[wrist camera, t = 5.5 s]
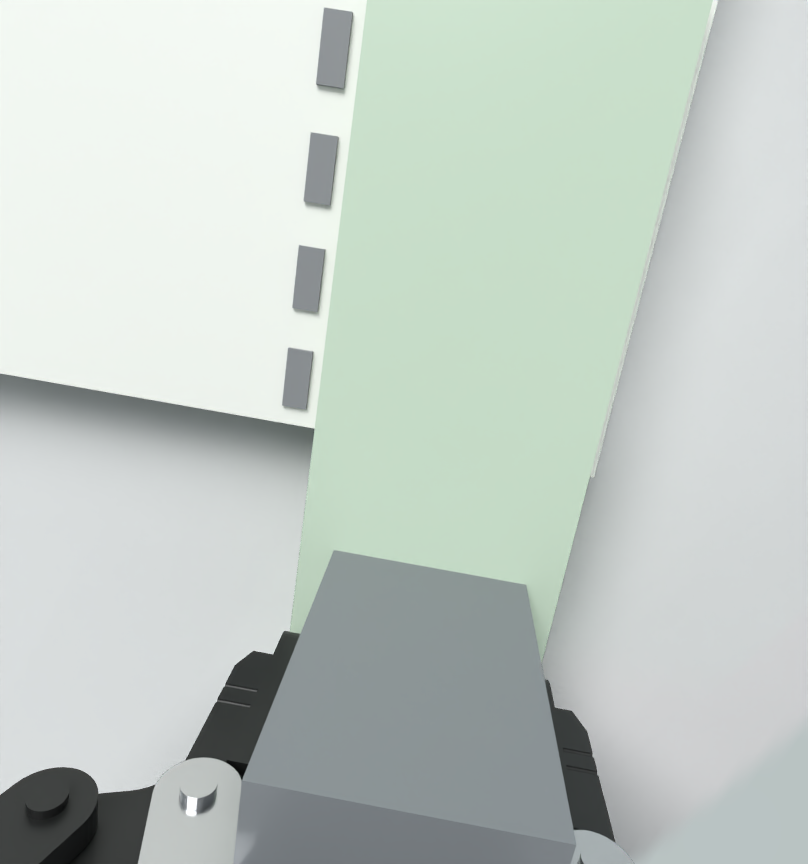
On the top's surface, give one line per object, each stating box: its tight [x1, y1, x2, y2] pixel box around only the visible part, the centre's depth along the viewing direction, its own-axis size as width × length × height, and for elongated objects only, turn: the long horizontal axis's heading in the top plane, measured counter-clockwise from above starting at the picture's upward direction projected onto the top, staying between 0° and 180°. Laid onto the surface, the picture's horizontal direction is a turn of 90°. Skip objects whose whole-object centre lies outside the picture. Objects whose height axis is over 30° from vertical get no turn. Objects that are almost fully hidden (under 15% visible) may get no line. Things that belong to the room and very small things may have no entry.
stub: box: [233, 0, 713, 864], centre depth 10 cm, size 16×5×7 cm, turn 171°
